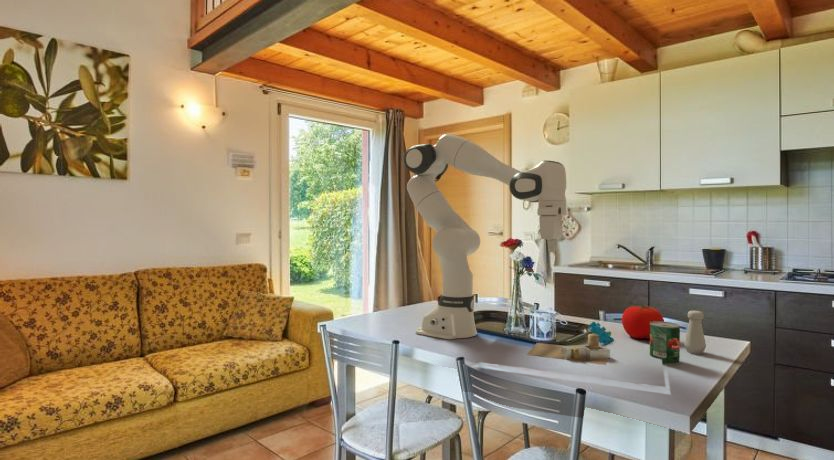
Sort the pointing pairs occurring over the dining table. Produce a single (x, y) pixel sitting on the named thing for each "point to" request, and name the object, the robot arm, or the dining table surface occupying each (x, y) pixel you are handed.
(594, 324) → the gear
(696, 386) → the dining table surface
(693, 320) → the salt shaker
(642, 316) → the tomato
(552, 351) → the post board
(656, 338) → the canned tomato
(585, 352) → the tan pipe fitting
